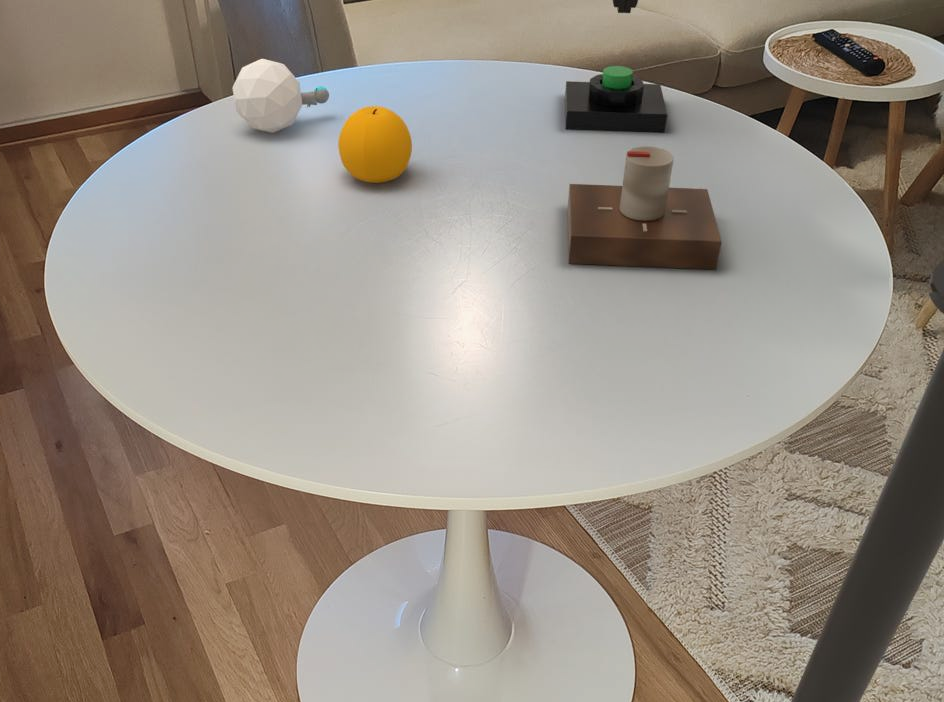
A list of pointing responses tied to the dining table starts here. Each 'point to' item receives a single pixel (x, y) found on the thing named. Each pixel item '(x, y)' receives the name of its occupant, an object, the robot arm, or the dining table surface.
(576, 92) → the block
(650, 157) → the dimmer knob
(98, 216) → the dining table surface
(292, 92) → the perfume bottle
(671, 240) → the dimmer panel
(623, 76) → the green push button
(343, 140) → the orange fruit
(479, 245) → the dining table surface
